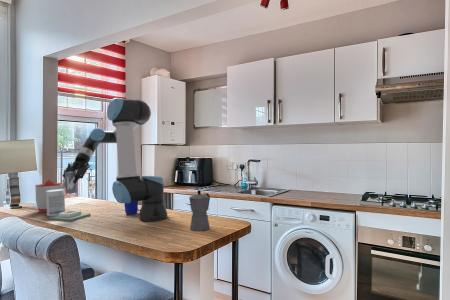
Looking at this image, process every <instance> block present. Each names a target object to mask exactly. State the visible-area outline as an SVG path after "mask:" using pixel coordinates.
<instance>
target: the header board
mask: <svg viewBox="0 0 450 300" xmlns="http://www.w3.org/2000/svg"><path fill="white" fill-rule="evenodd" d="M90 216H92V214H91V213H86V212H84V213H83V212H82V211H81V210H65V212H62V213H59V215H57V216H48V220H49V221H59V222H60V221H61V222H62V221H63V222H75V221H77V220H80V219H84V218H87V217H90Z"/></svg>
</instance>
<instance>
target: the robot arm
mask: <svg viewBox="0 0 450 300" xmlns="http://www.w3.org/2000/svg"><path fill="white" fill-rule="evenodd" d="M106 110H107V111H106V115H107V116H106V117H107V119H108V120H109V121H111V122H112V123H111V125H112V126H113V127H115V129H114V130H113V131H111V130H110V131H109V130H108V131H107V130H104V128H101V127H95V128H93V129H92V131H90V133H89V136H88V137H87V138H86V140H85V141H84V144H83V145H82V147H81V148H80V150H79V151H78V153H77V155H76V156H75V159H74V161H73V162H72V163H71V162H69V163H67V167H66V168H65V170H64V172H63V174H62V177H63V180H62V182H61V183H62V184H61V187H62V189H63V190H65V172H76V175H75V177H73V179H72V180H71V182H70V184H69V188H70V189H72V188H73V186H74V184H76V185H77V183H78V181H79V180H80V179H83V178H84V176H85V175H86V173H87V171H88V169H89V168H90V167H91V165H90V163H89V162H90V161H91V158H92V157H93V155H94V153H95V151H96V150H97V148H98V147H99V145H100V144H116V149H117V160H118V163H117V164H118V175H116V177H115V178H116V180H115V181H114V182H113V183H112V186H111V187H112V188H111V189H112V195H113V197H114V199H115V201H116V202H117V203H119V204H124V203H131V202H137V201H138V202H141V207H140V209H141V210H140V209H139V210H140V211H139V214H138V219H139V221H143V222H156V221H162V220H165V219H167V218H168V211H167V208H166V205H165V199H164V198H165V190H164V189H165V188H164V186H165V185H164V184H165V183H164V178H163V177H162V176H156V175H154V176H153V175H141V176H140V174H139V173H138V172H137V162H136V160H137V159H136V147H135V136H134V135H135V133H134V131H135V130H136V129H137V128H138V127H140V126H143V125H145V124H146V123H147V122H148V121H149V120H150V119H151V118H150V117H151V114H152V112H151V108H150V106H149V104H148V103H146V102H145V101H143V100H140V99H132V98H123V97H114V98H112V99H111V100H110V101H109V102H108V105H107V109H106Z"/></svg>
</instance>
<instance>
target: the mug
mask: <svg viewBox="0 0 450 300" xmlns="http://www.w3.org/2000/svg"><path fill="white" fill-rule="evenodd" d="M123 204H124V212H125V214H126V215H135V214H137V213H138V212H140V210H141V208H140V209H139V201H137V202H131V203H123Z"/></svg>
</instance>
